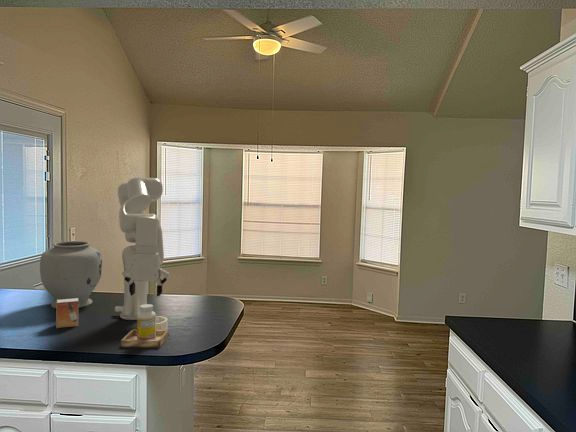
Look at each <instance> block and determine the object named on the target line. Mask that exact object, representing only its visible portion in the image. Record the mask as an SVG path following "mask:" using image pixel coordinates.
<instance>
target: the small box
mask: <svg viewBox="0 0 576 432" xmlns="http://www.w3.org/2000/svg"><path fill="white" fill-rule="evenodd" d="M55 313H56V318H55V319H56V320H55V321H56V326H55V327H56V329H59V328H71V327H79V308H78V298H74V299H62V300H57V308H56V312H55Z"/></svg>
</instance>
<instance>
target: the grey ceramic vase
mask: <svg viewBox="0 0 576 432" xmlns="http://www.w3.org/2000/svg"><path fill="white" fill-rule="evenodd" d="M90 245H91V243H90V242H88V241H81V240H80V241H79V240H77V241H76V240H71V241H70V240H68V241H67V240H66V241H57V242H55V243H53V244H52V246H53V247H52V248H49V249H47V250H45V251H43V252H42V254H41V255H40V258H39V259H40V260H39V261H40V262H39V274H40V280H41V283H42V285H43V288H44V289H45V290H46V291H47V292H48V294H49V295H50V296H51V297H52V298H54V301H53V302H52V303H51V308H53V309H57V300H62V299H74V298H78V309H80V308H84V307H88V306H90V305H92V304H93V299H92V298H89V297H90V295H91V294H92V292H94V290H95V288H96V287H97V286H98V284H99V282H100V280H101V278H102V277H101V276H102V271H103V257H102V254H101V253H102V252H101V251H100V250H99V249H97V248H94V247H91V246H90Z"/></svg>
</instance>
